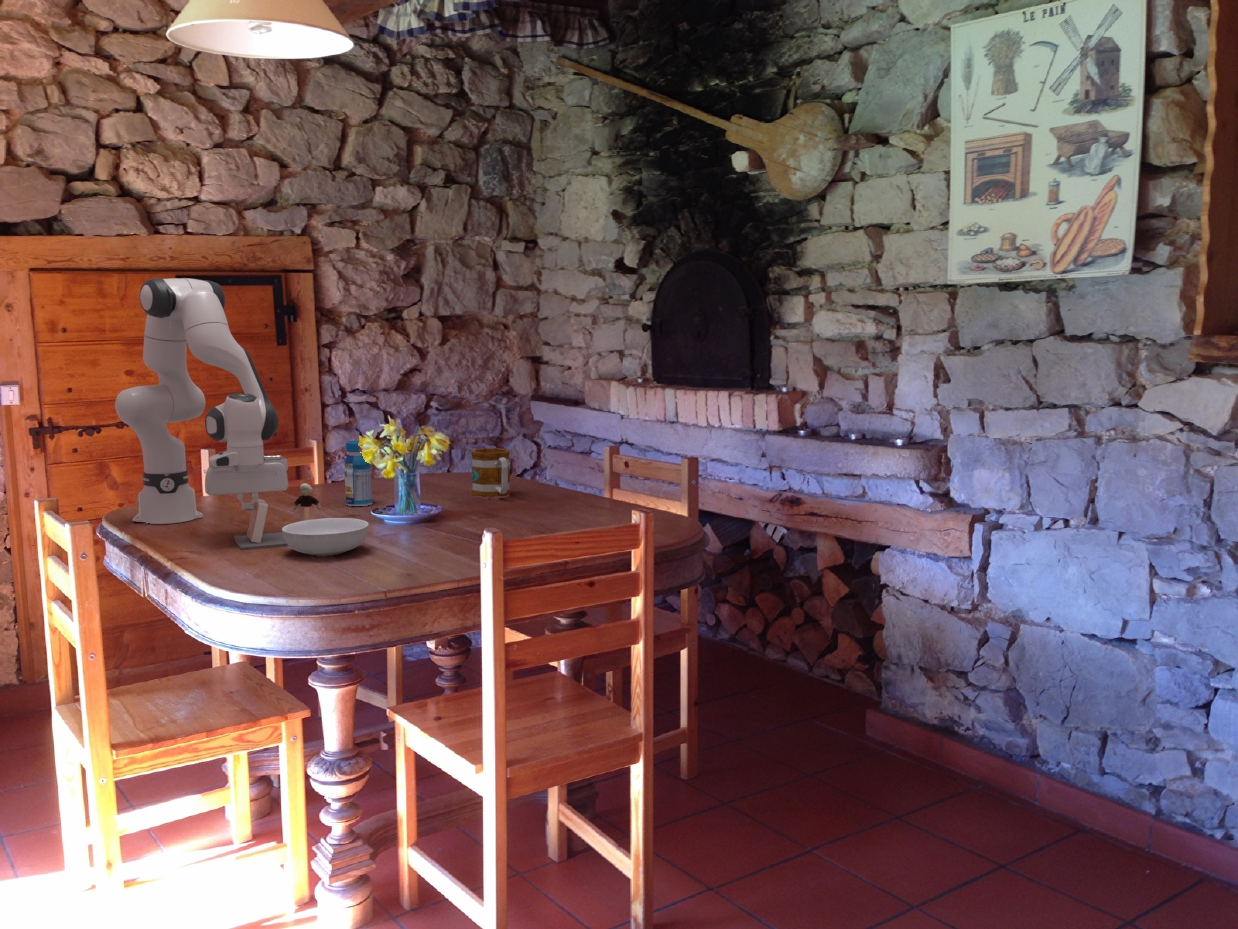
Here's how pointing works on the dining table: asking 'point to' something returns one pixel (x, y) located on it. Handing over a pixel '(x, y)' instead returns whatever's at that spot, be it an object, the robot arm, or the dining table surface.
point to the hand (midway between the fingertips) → (248, 510)
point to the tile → (257, 521)
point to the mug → (490, 472)
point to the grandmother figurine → (306, 503)
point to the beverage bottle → (357, 477)
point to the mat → (266, 541)
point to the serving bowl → (325, 535)
